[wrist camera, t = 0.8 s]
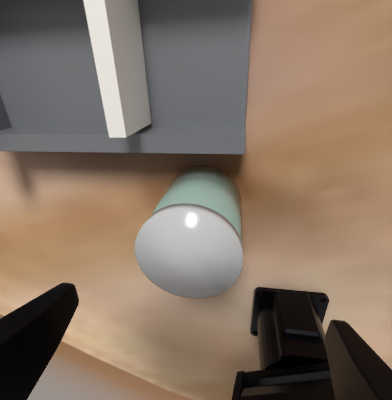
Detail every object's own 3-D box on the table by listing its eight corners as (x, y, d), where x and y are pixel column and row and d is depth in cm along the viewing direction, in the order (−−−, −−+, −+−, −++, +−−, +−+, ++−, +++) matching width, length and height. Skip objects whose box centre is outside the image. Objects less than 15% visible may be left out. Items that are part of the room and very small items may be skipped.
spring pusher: (151, 123, 17) (126, 137, 14) (137, 123, 18) (109, 137, 14) (136, -12, 14) (97, -43, 10) (120, -10, 14) (75, -40, 10)
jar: (239, 234, 21) (240, 302, 15) (169, 230, 22) (142, 292, 16) (243, 165, 18) (246, 213, 12) (163, 163, 19) (126, 207, 13)
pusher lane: (243, 143, 18) (245, 166, 13) (8, 141, 21) (-54, 160, 16) (255, -56, 13) (263, -122, 9) (-52, -21, 16) (-164, -57, 11)
